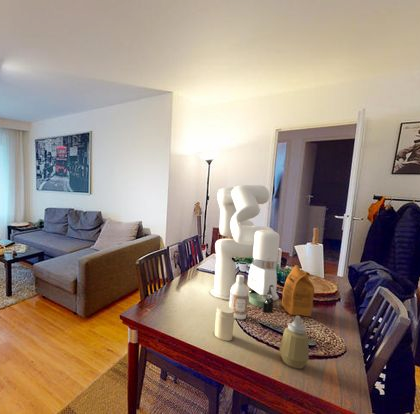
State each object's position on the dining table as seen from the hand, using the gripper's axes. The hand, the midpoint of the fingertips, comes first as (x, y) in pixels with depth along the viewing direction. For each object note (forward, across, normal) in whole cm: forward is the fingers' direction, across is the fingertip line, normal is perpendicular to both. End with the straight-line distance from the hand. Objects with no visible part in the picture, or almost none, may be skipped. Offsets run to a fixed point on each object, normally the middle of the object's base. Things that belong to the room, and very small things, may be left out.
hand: (260, 306), depth 105 cm
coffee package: (+16, -28, +35) cm, 48 cm away
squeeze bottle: (+17, +9, +7) cm, 20 cm away
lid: (-3, 0, 0) cm, 3 cm away
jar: (+16, -6, -10) cm, 20 cm away
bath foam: (+16, -22, +4) cm, 28 cm away
